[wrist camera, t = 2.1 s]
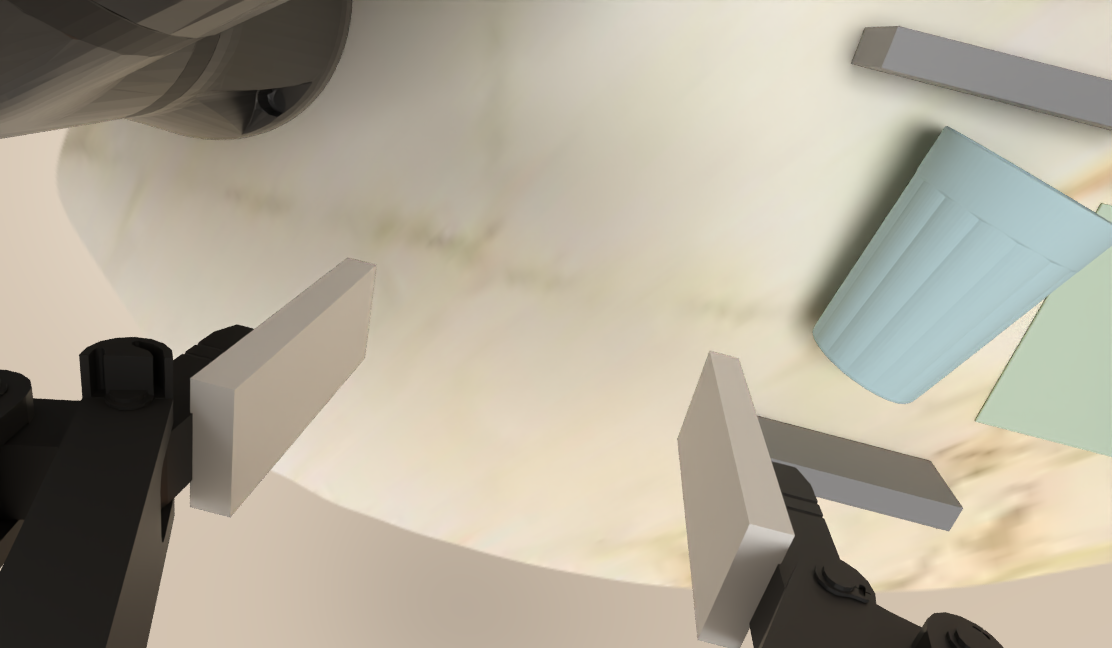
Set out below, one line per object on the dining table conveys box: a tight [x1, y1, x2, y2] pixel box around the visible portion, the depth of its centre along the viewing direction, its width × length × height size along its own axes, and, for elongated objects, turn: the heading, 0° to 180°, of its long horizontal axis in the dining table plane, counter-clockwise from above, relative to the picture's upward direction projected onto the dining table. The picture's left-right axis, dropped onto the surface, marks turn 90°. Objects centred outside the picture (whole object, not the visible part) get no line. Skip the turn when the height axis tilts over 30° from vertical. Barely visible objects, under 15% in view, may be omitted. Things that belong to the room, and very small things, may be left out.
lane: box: [757, 26, 1112, 531], centre depth 31 cm, size 12×21×4 cm, turn 167°
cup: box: [813, 126, 1112, 404], centre depth 29 cm, size 8×8×10 cm
